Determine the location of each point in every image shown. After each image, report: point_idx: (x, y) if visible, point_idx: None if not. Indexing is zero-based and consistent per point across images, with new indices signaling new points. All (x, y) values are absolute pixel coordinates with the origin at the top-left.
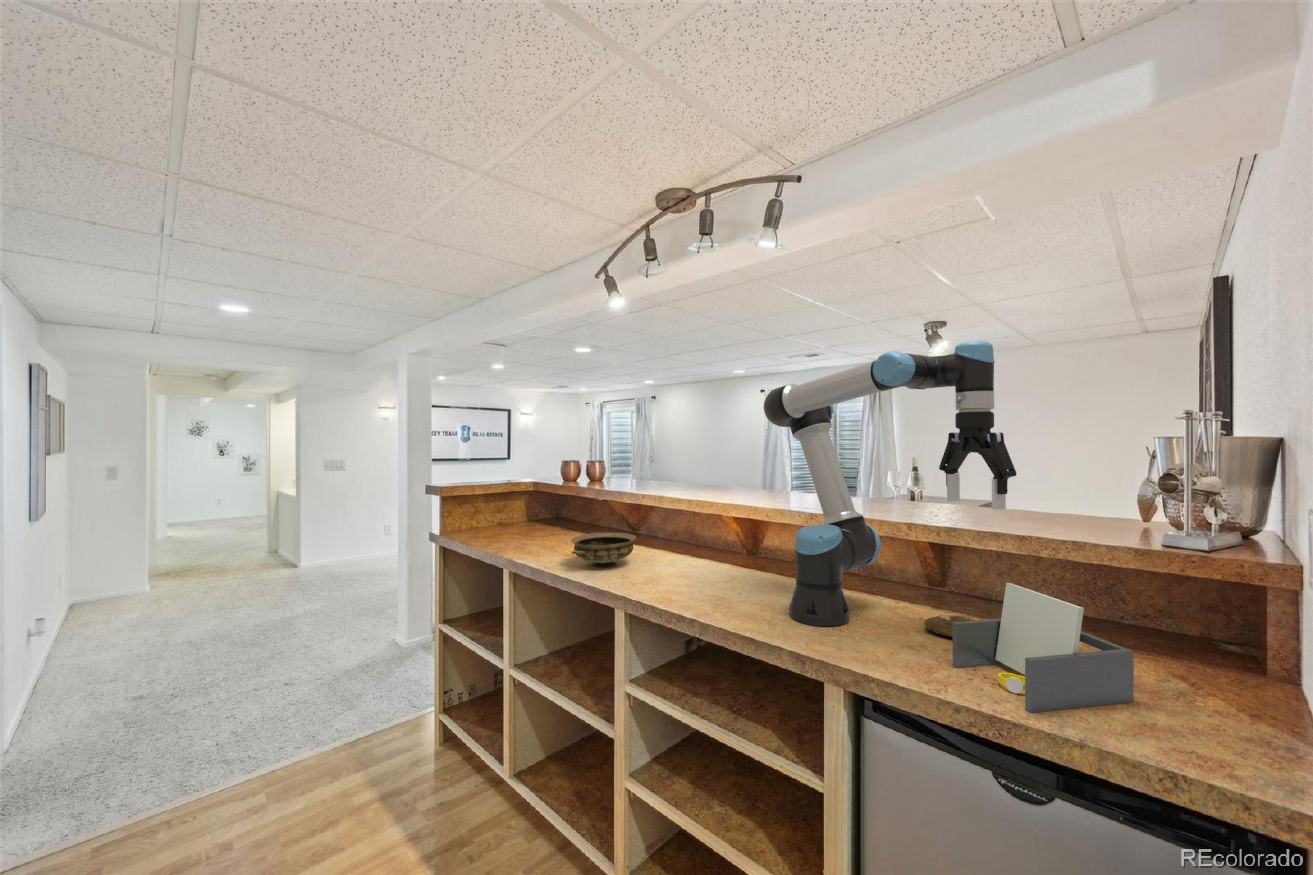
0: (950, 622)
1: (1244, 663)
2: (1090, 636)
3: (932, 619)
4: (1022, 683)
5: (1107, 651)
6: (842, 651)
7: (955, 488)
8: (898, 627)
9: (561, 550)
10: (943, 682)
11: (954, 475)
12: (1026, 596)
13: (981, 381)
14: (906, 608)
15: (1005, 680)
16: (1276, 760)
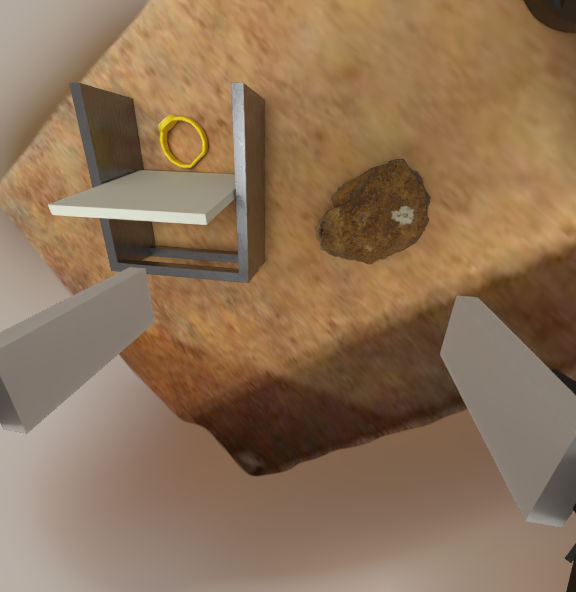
0: (373, 199)
1: (217, 432)
2: (160, 269)
3: (407, 185)
4: (159, 129)
5: (109, 238)
6: None
7: (478, 383)
8: (443, 122)
9: None
10: (212, 29)
11: (539, 469)
12: (159, 206)
13: None
14: (526, 221)
15: (175, 117)
16: (56, 260)
